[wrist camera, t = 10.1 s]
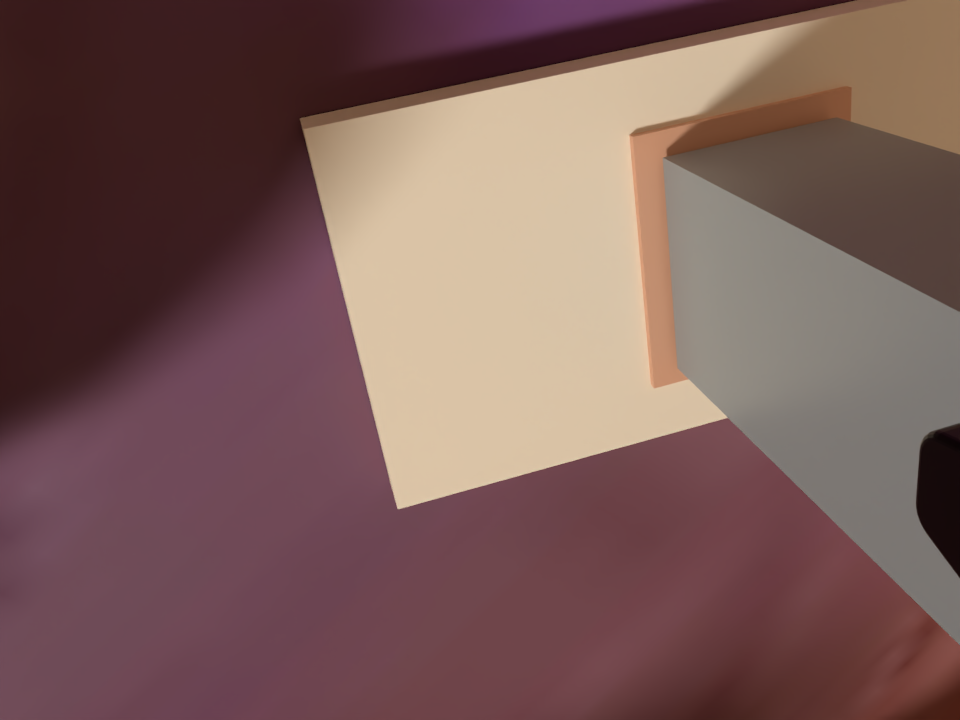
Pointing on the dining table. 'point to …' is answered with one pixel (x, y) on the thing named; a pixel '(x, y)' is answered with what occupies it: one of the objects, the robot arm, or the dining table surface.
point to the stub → (828, 320)
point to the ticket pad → (576, 227)
